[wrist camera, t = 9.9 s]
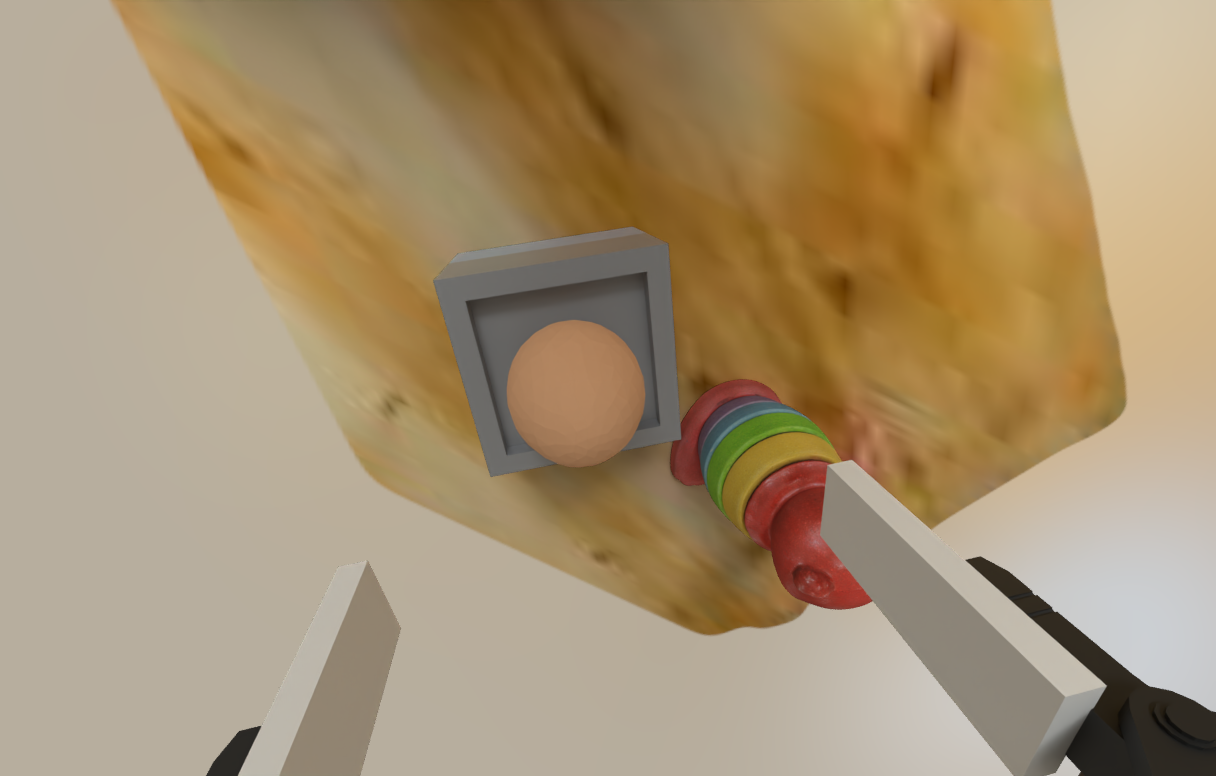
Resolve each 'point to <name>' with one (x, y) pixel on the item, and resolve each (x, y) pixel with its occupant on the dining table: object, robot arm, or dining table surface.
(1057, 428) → the dining table surface
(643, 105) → the dining table surface
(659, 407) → the grey square tray
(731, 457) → the stacking bear
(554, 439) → the egg
